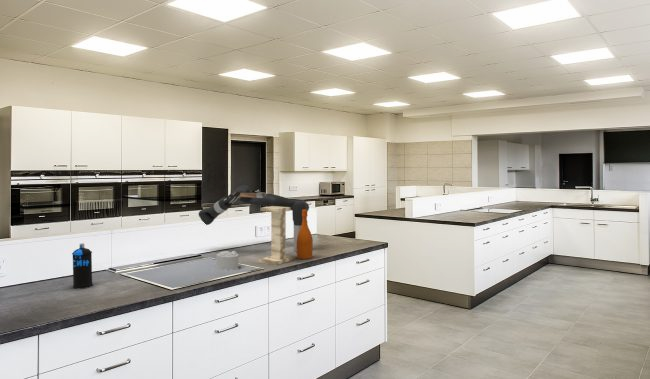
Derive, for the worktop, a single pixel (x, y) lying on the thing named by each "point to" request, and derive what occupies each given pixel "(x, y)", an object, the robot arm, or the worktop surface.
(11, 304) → the worktop surface
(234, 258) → the lumpy-topped squat cylinder
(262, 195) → the rod
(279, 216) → the stand
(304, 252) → the wine bottle
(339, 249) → the worktop surface
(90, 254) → the aerosol can
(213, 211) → the robot arm
